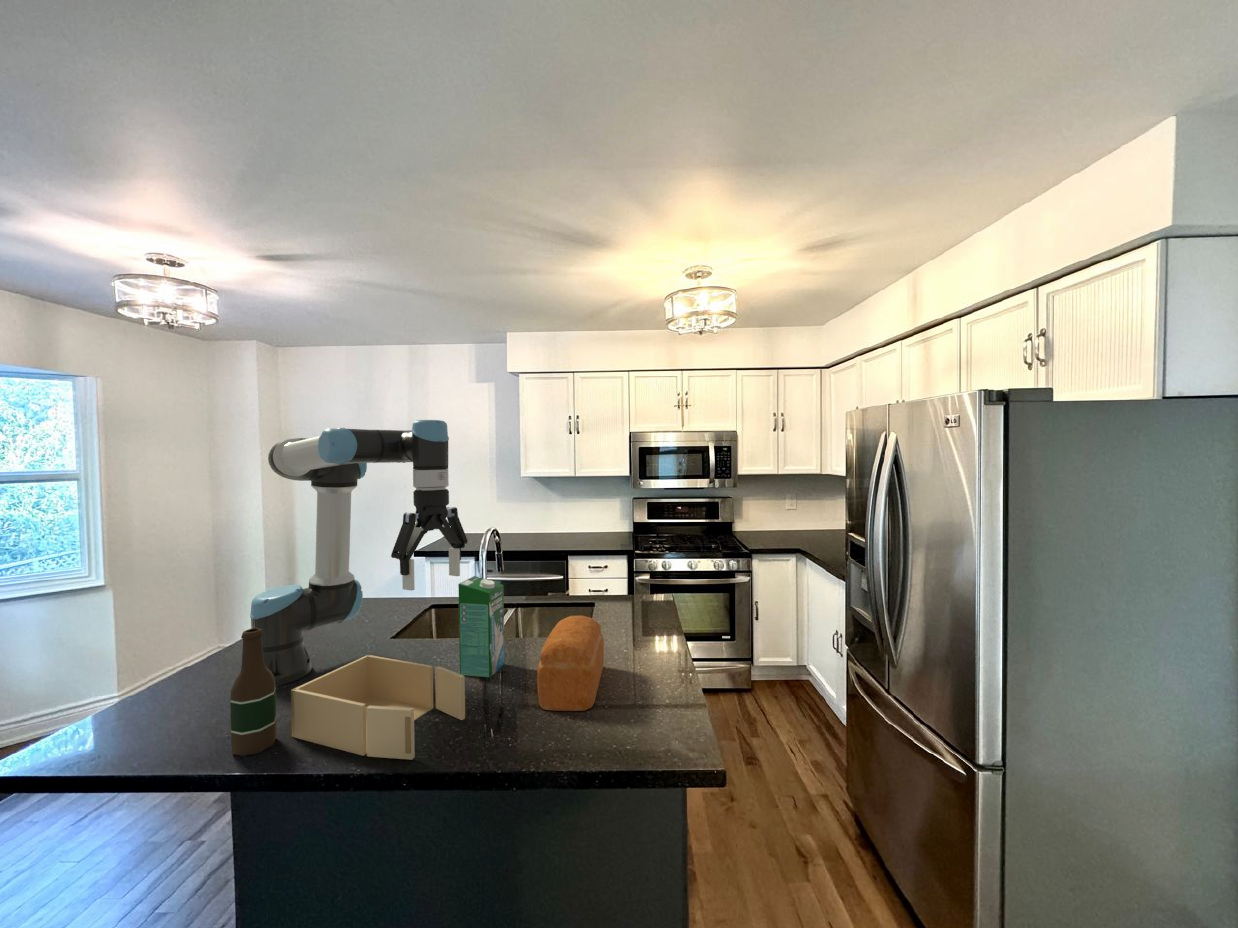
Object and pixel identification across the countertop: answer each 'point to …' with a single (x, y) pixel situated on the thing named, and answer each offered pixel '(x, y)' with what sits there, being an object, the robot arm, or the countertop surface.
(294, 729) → the carton
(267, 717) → the beer bottle
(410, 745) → the flap
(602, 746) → the countertop surface
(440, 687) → the flap
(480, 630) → the milk carton
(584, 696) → the bread
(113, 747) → the countertop surface
